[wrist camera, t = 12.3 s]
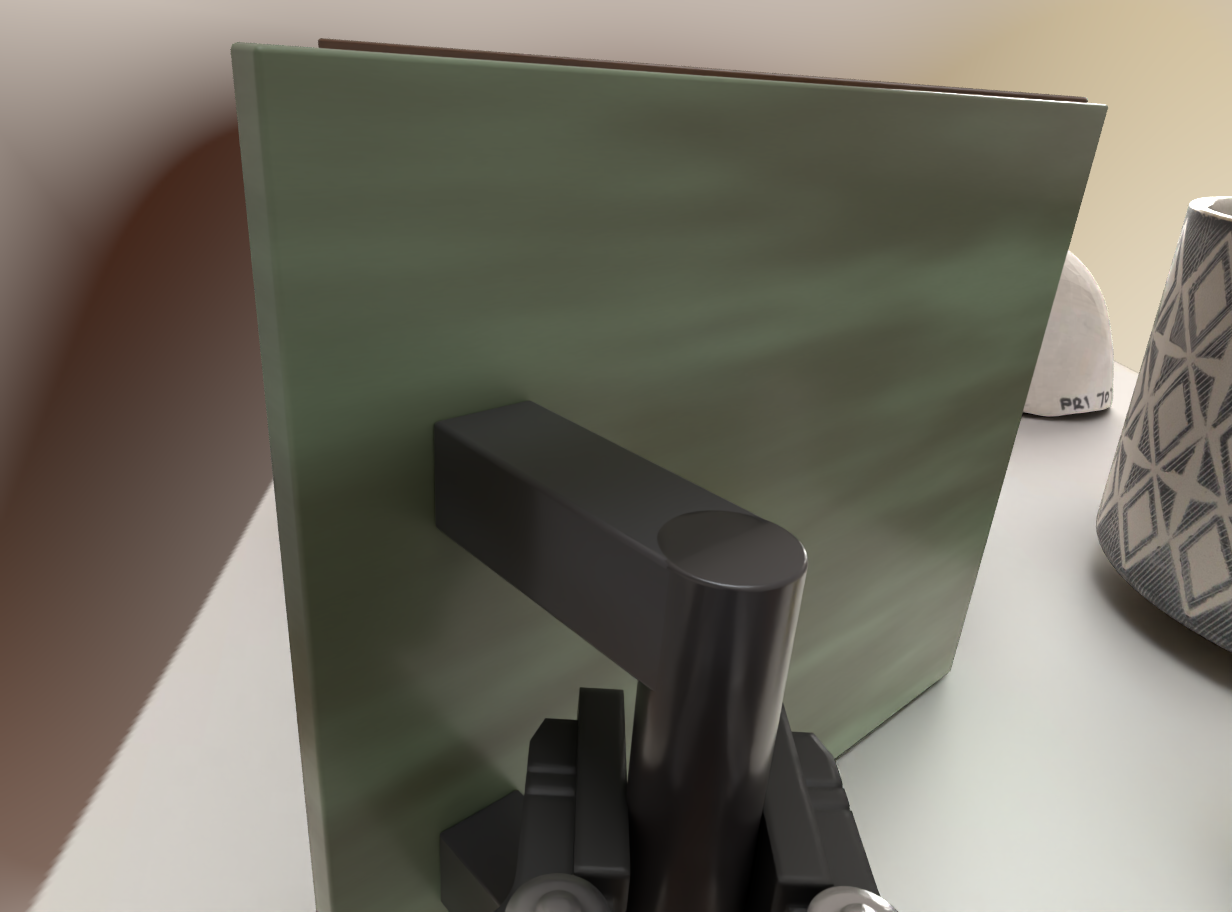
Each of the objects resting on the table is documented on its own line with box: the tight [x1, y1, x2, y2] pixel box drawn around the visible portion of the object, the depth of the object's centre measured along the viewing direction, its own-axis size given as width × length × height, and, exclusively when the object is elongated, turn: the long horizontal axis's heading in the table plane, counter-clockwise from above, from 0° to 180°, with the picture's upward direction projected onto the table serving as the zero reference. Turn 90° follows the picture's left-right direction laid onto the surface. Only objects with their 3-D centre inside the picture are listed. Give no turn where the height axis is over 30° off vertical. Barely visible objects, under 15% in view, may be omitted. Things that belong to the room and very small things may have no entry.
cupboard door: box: [231, 42, 1108, 912], centre depth 19 cm, size 7×24×20 cm, turn 132°
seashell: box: [1023, 250, 1114, 417], centre depth 65 cm, size 15×14×15 cm
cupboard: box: [318, 38, 1088, 103], centre depth 38 cm, size 16×24×20 cm, turn 80°
